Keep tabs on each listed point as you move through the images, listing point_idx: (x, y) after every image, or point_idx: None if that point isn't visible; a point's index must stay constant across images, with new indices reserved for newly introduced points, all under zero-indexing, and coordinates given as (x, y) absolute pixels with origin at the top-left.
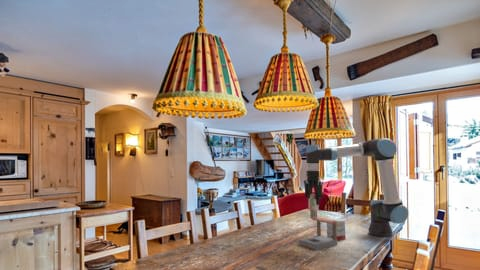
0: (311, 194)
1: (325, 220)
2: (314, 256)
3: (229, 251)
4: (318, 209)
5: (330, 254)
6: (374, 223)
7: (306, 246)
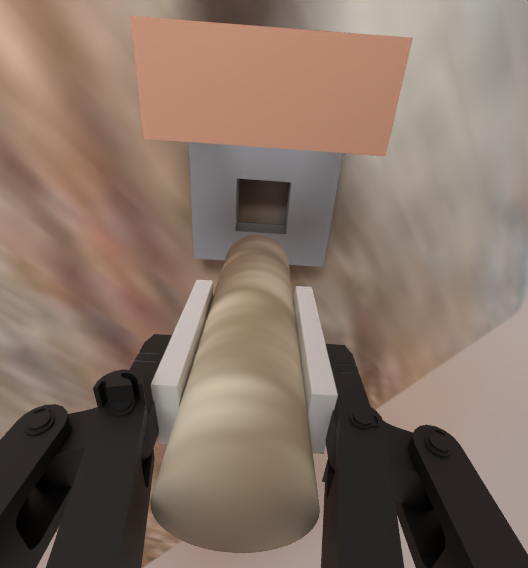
0: (219, 537)
1: (312, 139)
2: (358, 327)
3: None
4: (312, 294)
5: (399, 262)
6: None
7: None
